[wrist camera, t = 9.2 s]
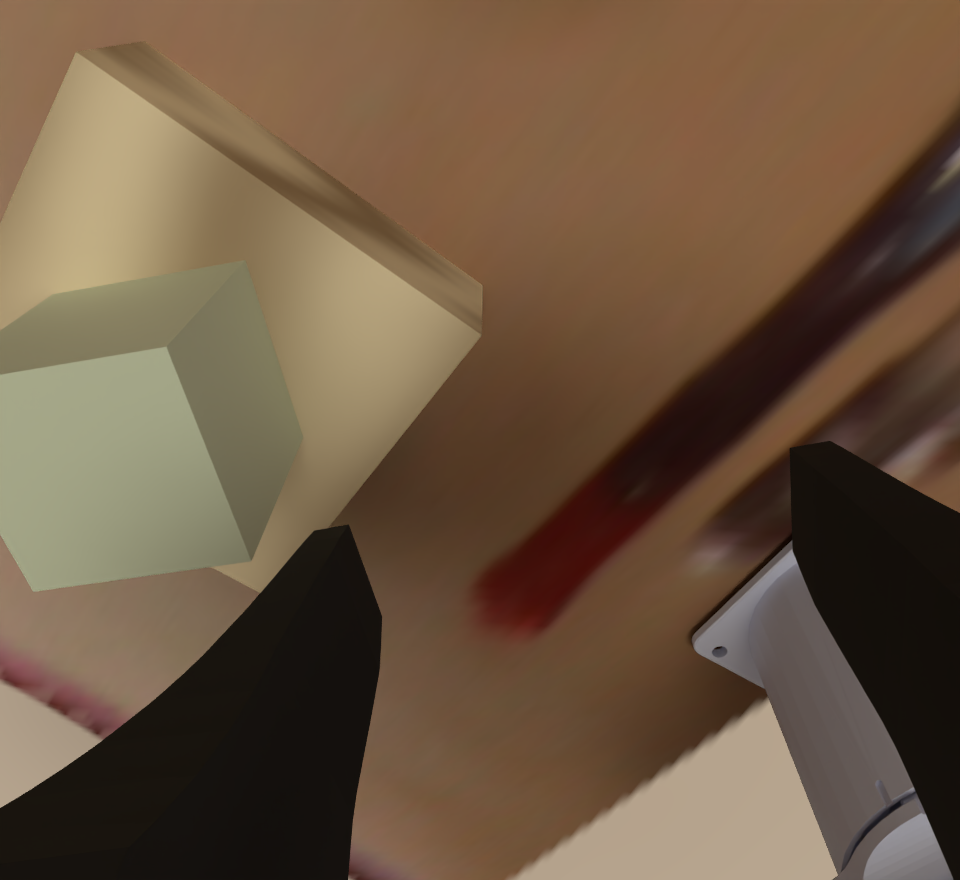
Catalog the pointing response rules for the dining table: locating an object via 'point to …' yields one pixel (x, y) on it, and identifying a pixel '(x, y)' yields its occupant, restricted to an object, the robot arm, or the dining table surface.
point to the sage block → (141, 428)
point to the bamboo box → (236, 237)
